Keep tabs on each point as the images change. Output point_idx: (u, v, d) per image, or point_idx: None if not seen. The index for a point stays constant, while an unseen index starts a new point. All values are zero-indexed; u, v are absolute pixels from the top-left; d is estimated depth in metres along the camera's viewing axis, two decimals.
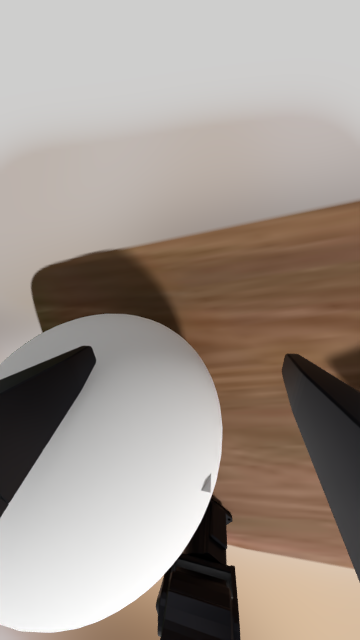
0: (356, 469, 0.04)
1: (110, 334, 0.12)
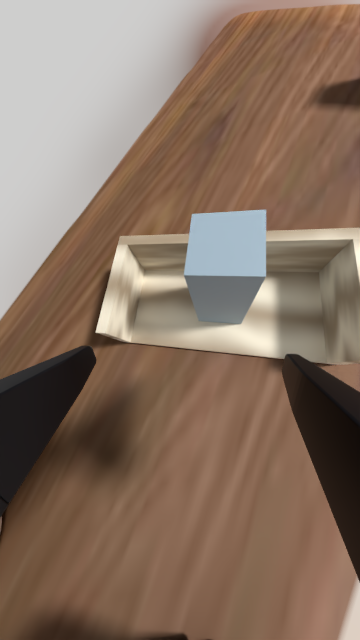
0: (356, 469, 0.04)
1: None
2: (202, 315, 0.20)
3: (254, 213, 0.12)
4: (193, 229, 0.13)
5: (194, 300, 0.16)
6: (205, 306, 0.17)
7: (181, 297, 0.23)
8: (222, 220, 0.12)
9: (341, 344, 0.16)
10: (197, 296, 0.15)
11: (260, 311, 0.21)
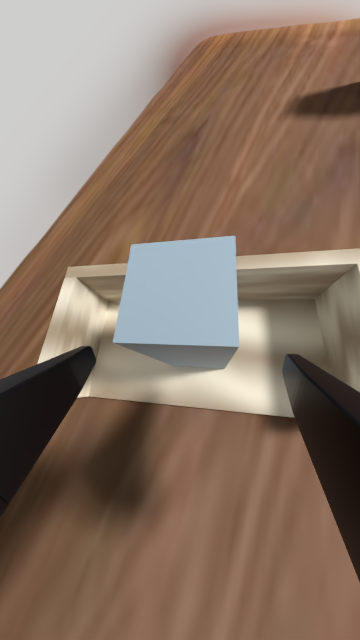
0: (356, 469, 0.04)
1: None
2: (173, 363, 0.15)
3: (218, 242, 0.08)
4: (131, 267, 0.08)
5: (152, 356, 0.11)
6: (171, 360, 0.12)
7: None
8: (173, 254, 0.08)
9: None
10: (153, 354, 0.10)
11: (247, 351, 0.17)
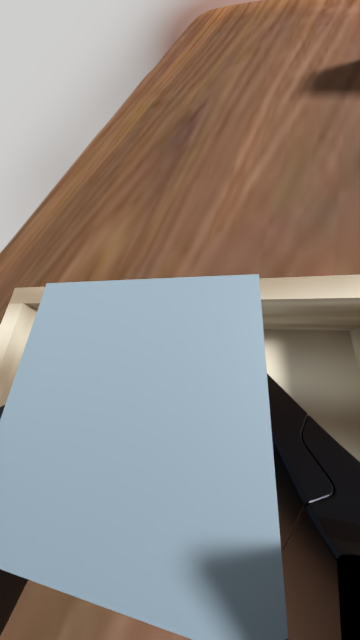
0: None
1: None
2: None
3: (221, 289, 0.04)
4: (37, 337, 0.04)
5: None
6: None
7: None
8: (122, 311, 0.04)
9: None
10: None
11: None
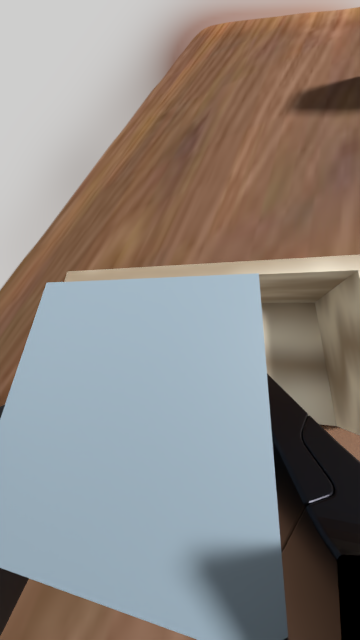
0: None
1: None
2: None
3: (221, 288, 0.04)
4: (37, 336, 0.04)
5: None
6: None
7: None
8: (122, 310, 0.04)
9: (355, 409, 0.12)
10: None
11: None
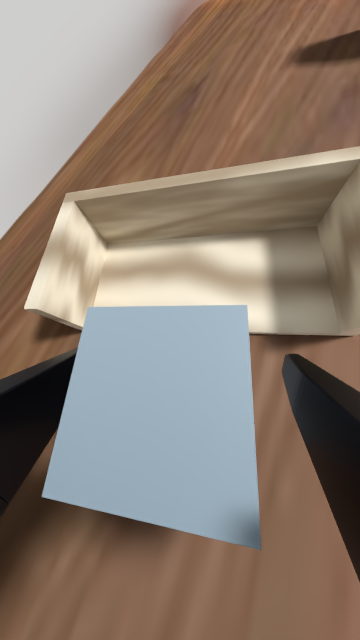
0: (356, 469, 0.04)
1: None
2: None
3: (220, 314, 0.05)
4: (84, 348, 0.05)
5: None
6: None
7: (151, 270, 0.19)
8: (148, 330, 0.05)
9: None
10: None
11: (248, 277, 0.16)
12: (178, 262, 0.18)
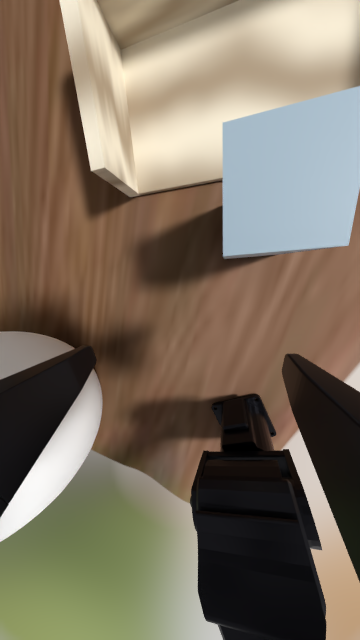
0: (356, 469, 0.04)
1: None
2: None
3: (351, 99, 0.06)
4: (228, 163, 0.07)
5: (226, 257, 0.12)
6: None
7: (191, 90, 0.15)
8: (282, 132, 0.07)
9: None
10: None
11: (325, 71, 0.13)
12: (228, 64, 0.14)
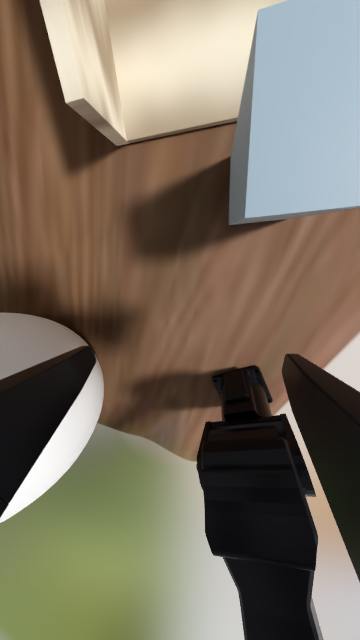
0: (356, 469, 0.04)
1: None
2: (238, 223, 0.14)
3: None
4: (262, 81, 0.05)
5: None
6: (251, 221, 0.12)
7: None
8: (343, 27, 0.05)
9: None
10: (247, 220, 0.10)
11: None
12: None
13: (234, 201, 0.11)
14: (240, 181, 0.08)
